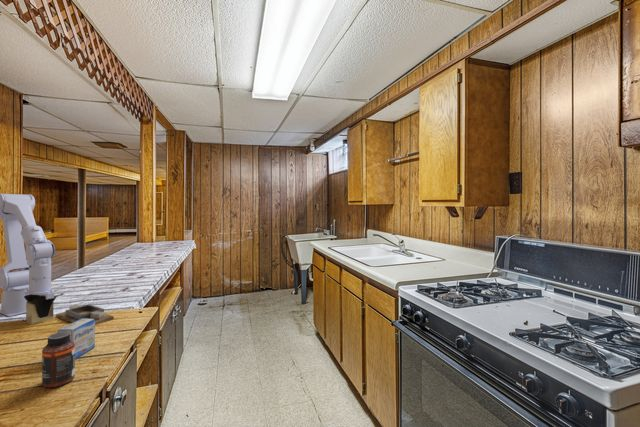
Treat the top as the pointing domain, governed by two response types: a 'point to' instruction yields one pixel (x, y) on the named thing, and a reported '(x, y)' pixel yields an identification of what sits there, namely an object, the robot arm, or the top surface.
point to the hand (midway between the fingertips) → (39, 315)
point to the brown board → (85, 314)
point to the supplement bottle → (58, 360)
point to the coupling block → (36, 313)
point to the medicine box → (81, 335)
